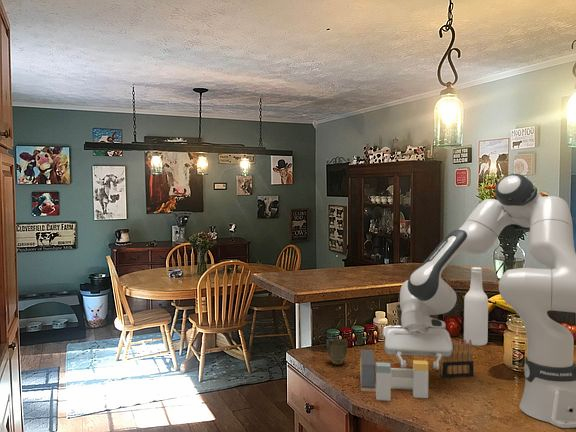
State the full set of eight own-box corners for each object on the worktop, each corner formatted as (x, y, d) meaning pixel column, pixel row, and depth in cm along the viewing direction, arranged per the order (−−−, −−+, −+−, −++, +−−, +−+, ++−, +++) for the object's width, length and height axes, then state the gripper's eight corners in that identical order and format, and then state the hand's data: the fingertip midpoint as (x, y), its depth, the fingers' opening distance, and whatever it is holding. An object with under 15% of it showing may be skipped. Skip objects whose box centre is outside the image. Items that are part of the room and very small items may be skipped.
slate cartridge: (389, 396, 143) (389, 362, 143) (390, 400, 140) (390, 366, 140) (375, 395, 144) (376, 362, 143) (376, 400, 141) (376, 365, 140)
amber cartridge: (426, 393, 145) (426, 360, 145) (428, 398, 142) (428, 364, 142) (412, 393, 146) (412, 360, 145) (414, 397, 143) (414, 363, 142)
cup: (346, 368, 166) (346, 345, 166) (325, 366, 168) (325, 343, 167) (348, 360, 174) (348, 338, 173) (327, 359, 175) (327, 337, 175)
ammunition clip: (442, 378, 157) (442, 341, 157) (439, 375, 159) (440, 339, 159) (473, 376, 159) (474, 340, 158) (471, 374, 160) (471, 338, 160)
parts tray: (416, 378, 157) (416, 368, 157) (420, 389, 148) (420, 380, 148) (386, 376, 158) (386, 367, 158) (389, 388, 149) (389, 378, 149)
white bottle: (464, 345, 191) (465, 269, 189) (463, 338, 199) (463, 265, 198) (488, 347, 188) (490, 269, 187) (486, 340, 197) (487, 266, 195)
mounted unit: (373, 372, 162) (373, 349, 162) (376, 391, 147) (376, 365, 146) (359, 372, 163) (359, 348, 162) (360, 391, 147) (360, 365, 147)
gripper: (382, 320, 154) (384, 361, 144) (450, 322, 151) (456, 364, 142) (382, 330, 158) (383, 370, 149) (447, 332, 156) (453, 373, 146)
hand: (419, 367), depth 145 cm, fingers open, 8 cm apart
